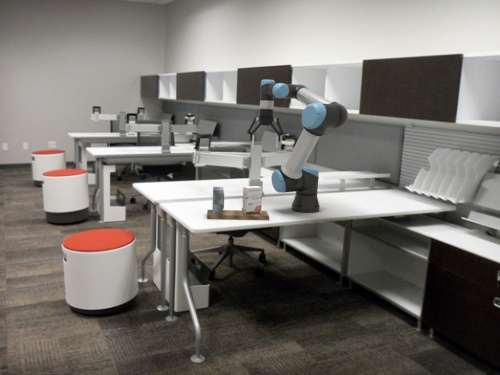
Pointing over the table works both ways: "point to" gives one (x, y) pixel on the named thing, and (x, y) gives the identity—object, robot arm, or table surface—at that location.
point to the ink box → (252, 198)
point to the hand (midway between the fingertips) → (264, 147)
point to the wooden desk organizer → (219, 213)
